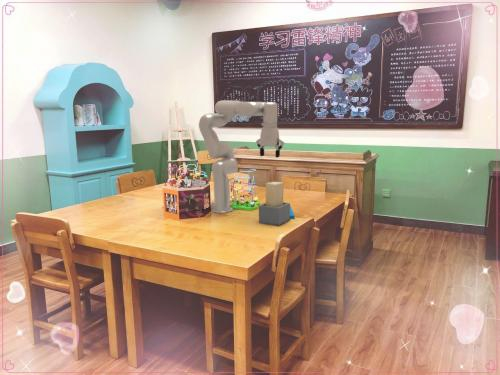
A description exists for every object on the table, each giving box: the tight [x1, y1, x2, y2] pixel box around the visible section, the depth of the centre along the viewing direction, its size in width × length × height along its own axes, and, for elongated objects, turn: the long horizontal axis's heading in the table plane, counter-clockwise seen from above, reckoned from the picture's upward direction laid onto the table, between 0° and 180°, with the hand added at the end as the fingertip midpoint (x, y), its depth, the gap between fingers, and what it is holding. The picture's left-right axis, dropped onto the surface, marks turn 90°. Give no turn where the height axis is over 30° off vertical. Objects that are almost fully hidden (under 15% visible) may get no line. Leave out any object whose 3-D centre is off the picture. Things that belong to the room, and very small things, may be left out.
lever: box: [290, 205, 295, 220], centre depth 245 cm, size 7×7×18 cm
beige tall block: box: [265, 181, 284, 207], centre depth 228 cm, size 8×7×21 cm
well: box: [258, 201, 291, 227], centre depth 229 cm, size 12×13×10 cm
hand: (269, 156), depth 230 cm, fingers open, 9 cm apart
